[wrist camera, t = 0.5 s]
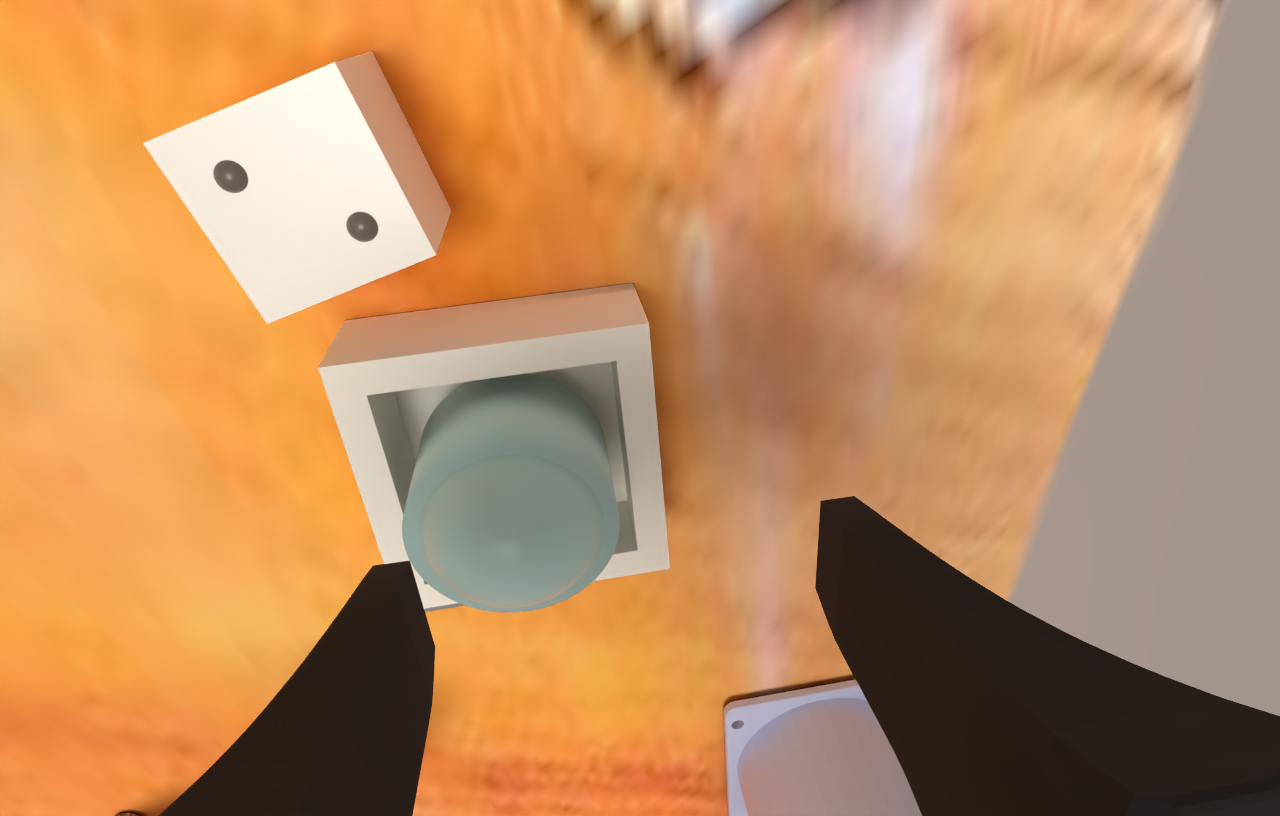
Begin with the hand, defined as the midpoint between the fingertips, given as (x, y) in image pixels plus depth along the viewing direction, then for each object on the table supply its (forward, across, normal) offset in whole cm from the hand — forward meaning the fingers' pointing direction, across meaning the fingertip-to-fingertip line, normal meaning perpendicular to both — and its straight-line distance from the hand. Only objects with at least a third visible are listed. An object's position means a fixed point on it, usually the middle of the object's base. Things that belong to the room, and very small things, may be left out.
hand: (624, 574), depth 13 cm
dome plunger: (+8, +2, +2) cm, 9 cm away
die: (+10, +6, -6) cm, 13 cm away
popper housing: (+10, +2, +2) cm, 10 cm away
